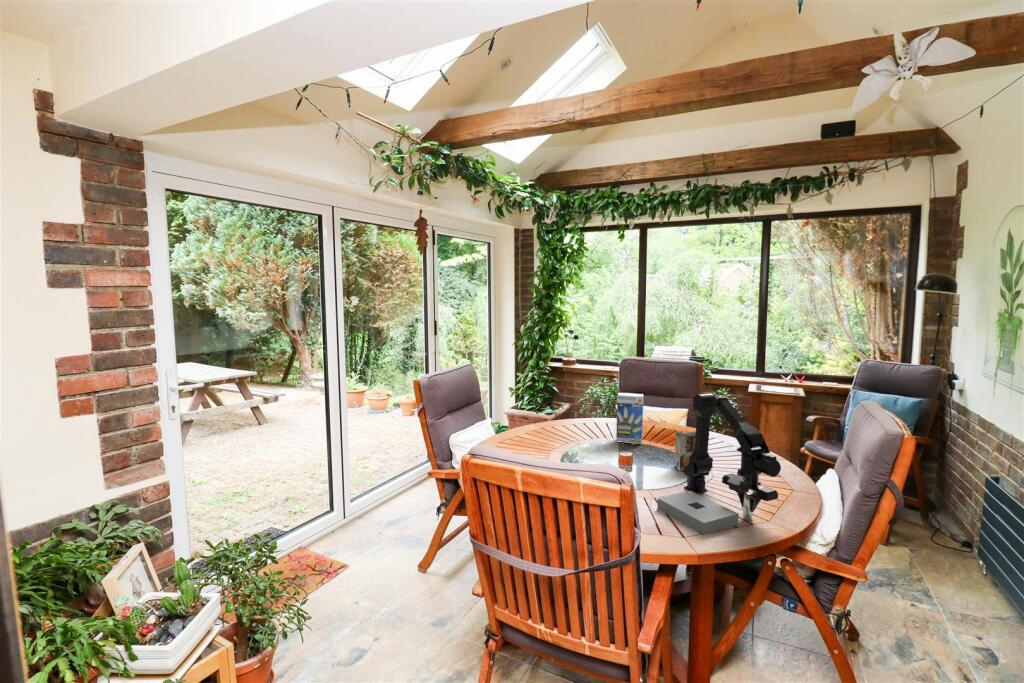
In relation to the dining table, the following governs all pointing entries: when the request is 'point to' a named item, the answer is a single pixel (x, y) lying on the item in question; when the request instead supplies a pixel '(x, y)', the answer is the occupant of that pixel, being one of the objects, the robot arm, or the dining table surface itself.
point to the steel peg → (747, 507)
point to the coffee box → (684, 448)
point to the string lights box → (629, 417)
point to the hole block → (698, 512)
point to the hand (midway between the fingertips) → (747, 510)
